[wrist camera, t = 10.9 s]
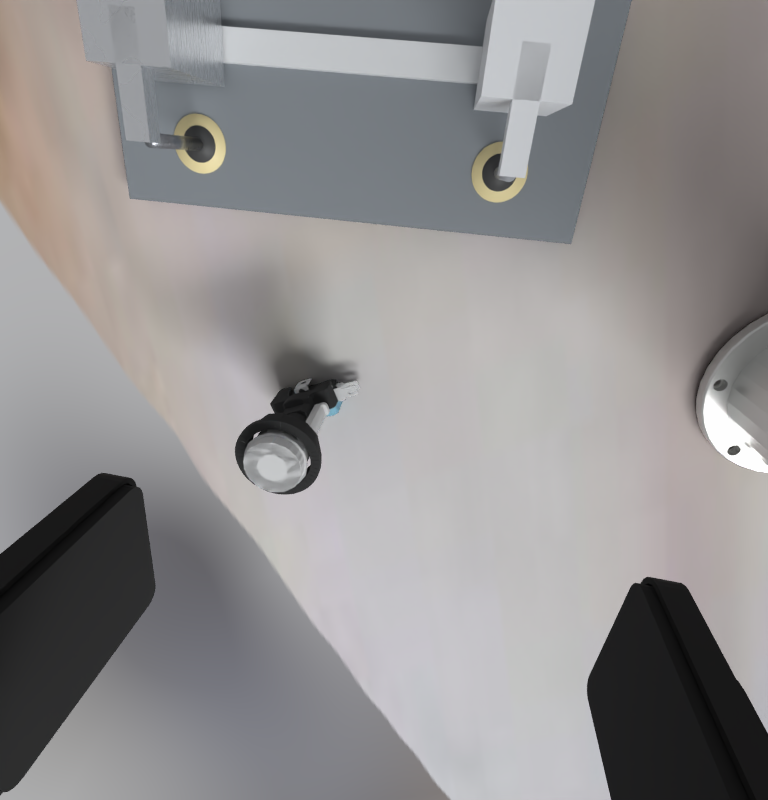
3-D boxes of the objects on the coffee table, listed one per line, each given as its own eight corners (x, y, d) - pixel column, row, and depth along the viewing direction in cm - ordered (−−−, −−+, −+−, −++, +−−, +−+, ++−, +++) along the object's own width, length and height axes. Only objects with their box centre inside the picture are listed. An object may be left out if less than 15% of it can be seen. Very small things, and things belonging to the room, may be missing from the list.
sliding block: (222, -2, 26) (159, -49, 20) (230, 153, 29) (178, 151, 23) (149, -7, 26) (67, -55, 20) (165, 147, 29) (99, 143, 23)
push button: (347, 350, 36) (315, 413, 27) (372, 412, 38) (350, 490, 29) (268, 374, 37) (213, 441, 28) (296, 432, 39) (252, 511, 30)
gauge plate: (623, 2, 25) (688, -56, 19) (565, 240, 31) (599, 261, 24) (113, -34, 27) (3, -100, 20) (142, 197, 32) (64, 205, 26)
